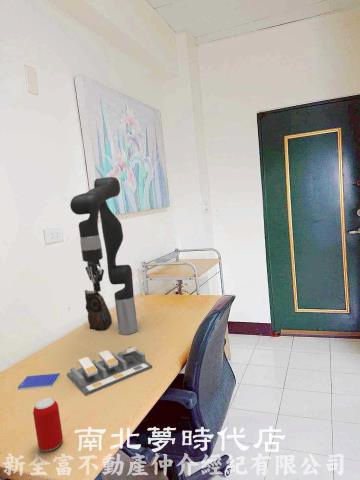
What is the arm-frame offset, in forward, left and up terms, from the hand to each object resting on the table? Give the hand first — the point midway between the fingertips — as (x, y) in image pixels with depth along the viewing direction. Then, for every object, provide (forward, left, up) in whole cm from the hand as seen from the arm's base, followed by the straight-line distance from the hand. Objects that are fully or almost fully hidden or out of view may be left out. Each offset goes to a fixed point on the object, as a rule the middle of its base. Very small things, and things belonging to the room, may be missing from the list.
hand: (97, 291), depth 134 cm
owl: (-43, +17, -30) cm, 55 cm away
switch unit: (+8, -2, -29) cm, 30 cm away
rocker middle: (+8, -2, -25) cm, 26 cm away
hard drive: (-5, -24, -30) cm, 39 cm away
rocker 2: (+8, +6, -25) cm, 27 cm away
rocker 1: (+8, -10, -25) cm, 28 cm away
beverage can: (+34, -31, -30) cm, 55 cm away
